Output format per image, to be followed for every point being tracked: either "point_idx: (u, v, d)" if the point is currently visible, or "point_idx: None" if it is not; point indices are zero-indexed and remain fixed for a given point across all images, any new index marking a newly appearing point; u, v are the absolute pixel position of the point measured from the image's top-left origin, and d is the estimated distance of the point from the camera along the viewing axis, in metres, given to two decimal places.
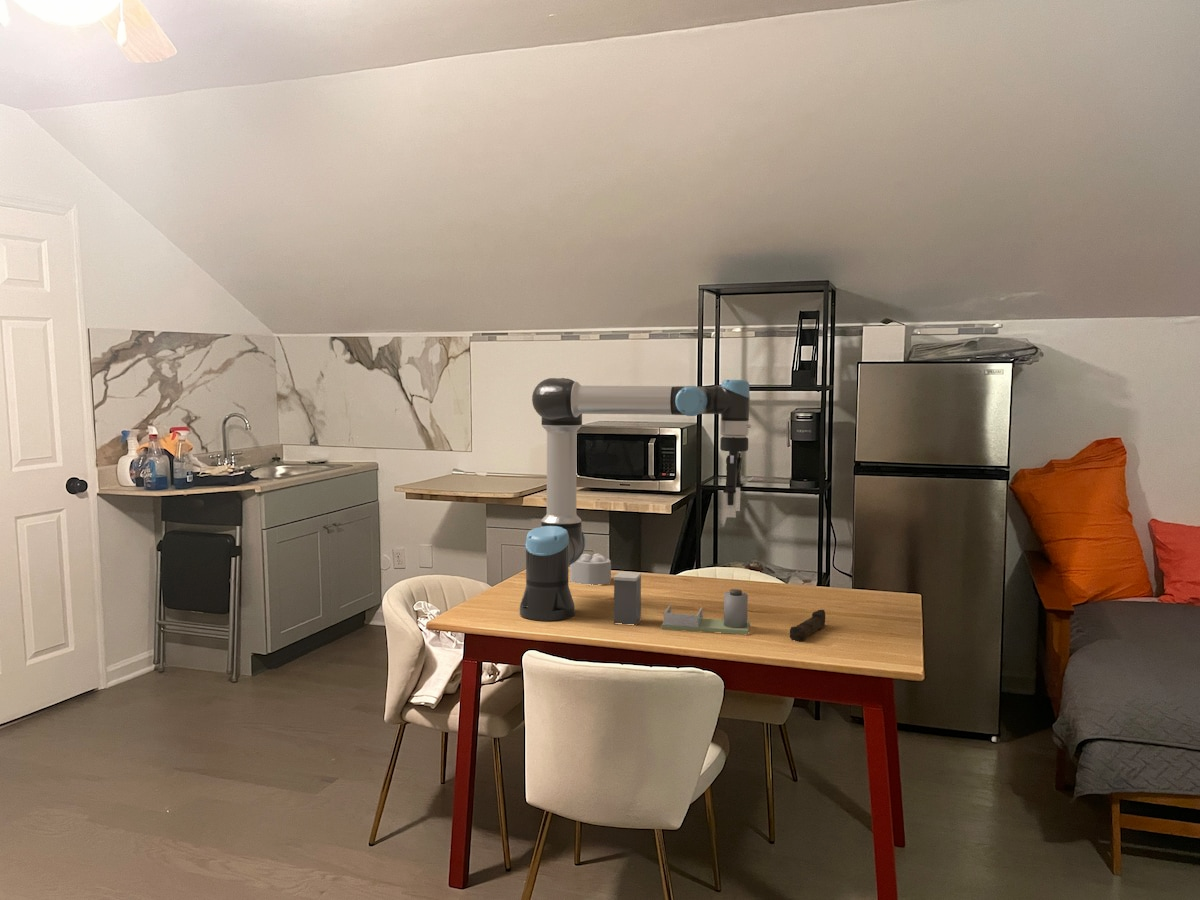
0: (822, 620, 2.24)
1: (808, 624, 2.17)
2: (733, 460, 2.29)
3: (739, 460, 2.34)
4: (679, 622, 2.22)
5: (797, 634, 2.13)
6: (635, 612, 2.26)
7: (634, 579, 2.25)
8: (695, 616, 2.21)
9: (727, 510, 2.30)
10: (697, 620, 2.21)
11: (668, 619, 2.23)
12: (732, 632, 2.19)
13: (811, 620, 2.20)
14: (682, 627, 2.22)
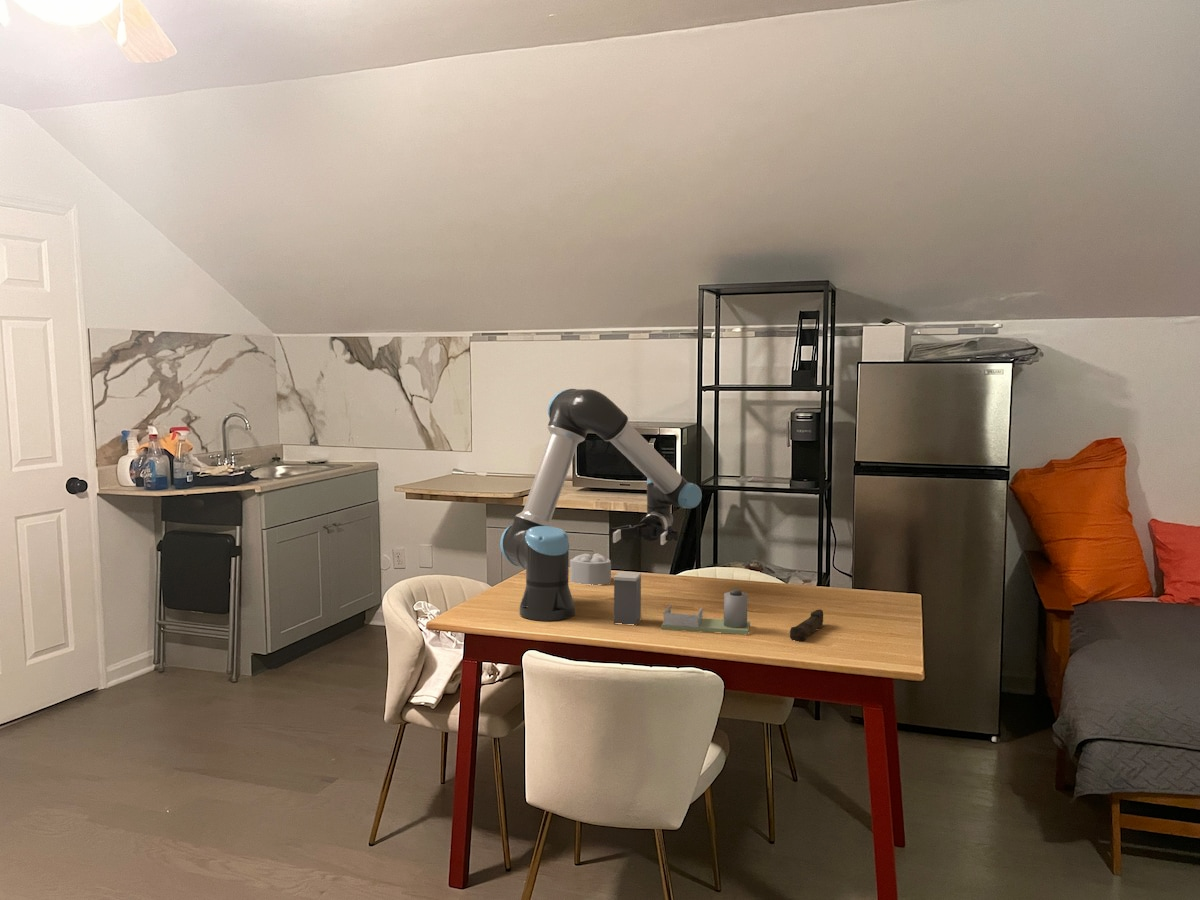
0: (820, 620, 2.24)
1: (808, 624, 2.17)
2: None
3: None
4: (679, 622, 2.22)
5: (797, 634, 2.13)
6: (635, 612, 2.26)
7: (634, 579, 2.25)
8: (695, 616, 2.21)
9: (664, 536, 2.41)
10: (697, 620, 2.21)
11: (668, 619, 2.23)
12: (732, 632, 2.19)
13: (810, 620, 2.20)
14: (682, 627, 2.22)
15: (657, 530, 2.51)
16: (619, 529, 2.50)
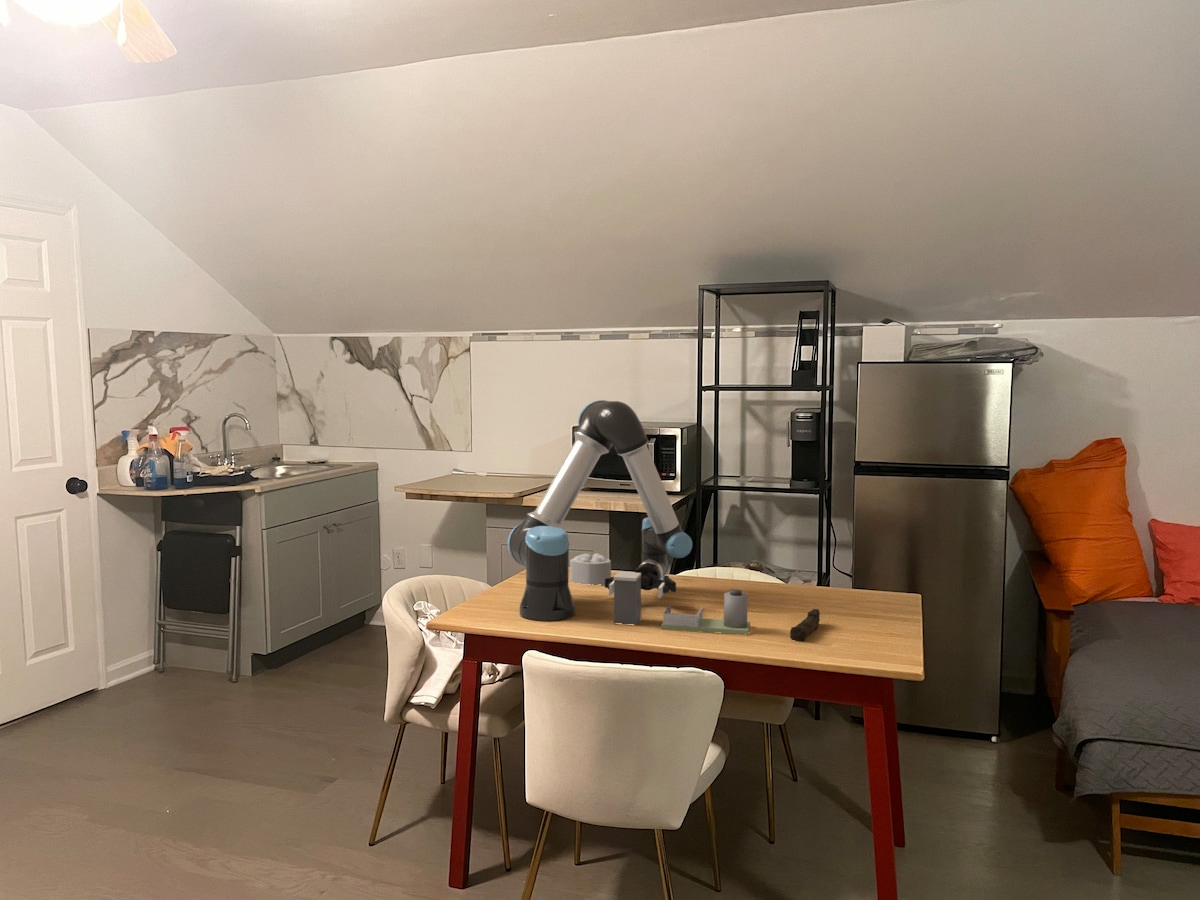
0: (817, 619, 2.25)
1: (807, 624, 2.17)
2: None
3: None
4: (679, 622, 2.22)
5: (798, 635, 2.13)
6: (635, 612, 2.26)
7: (634, 579, 2.25)
8: (695, 616, 2.21)
9: (662, 588, 2.35)
10: (697, 620, 2.21)
11: (668, 619, 2.23)
12: (732, 632, 2.19)
13: (808, 620, 2.20)
14: (682, 627, 2.22)
15: (654, 580, 2.45)
16: None
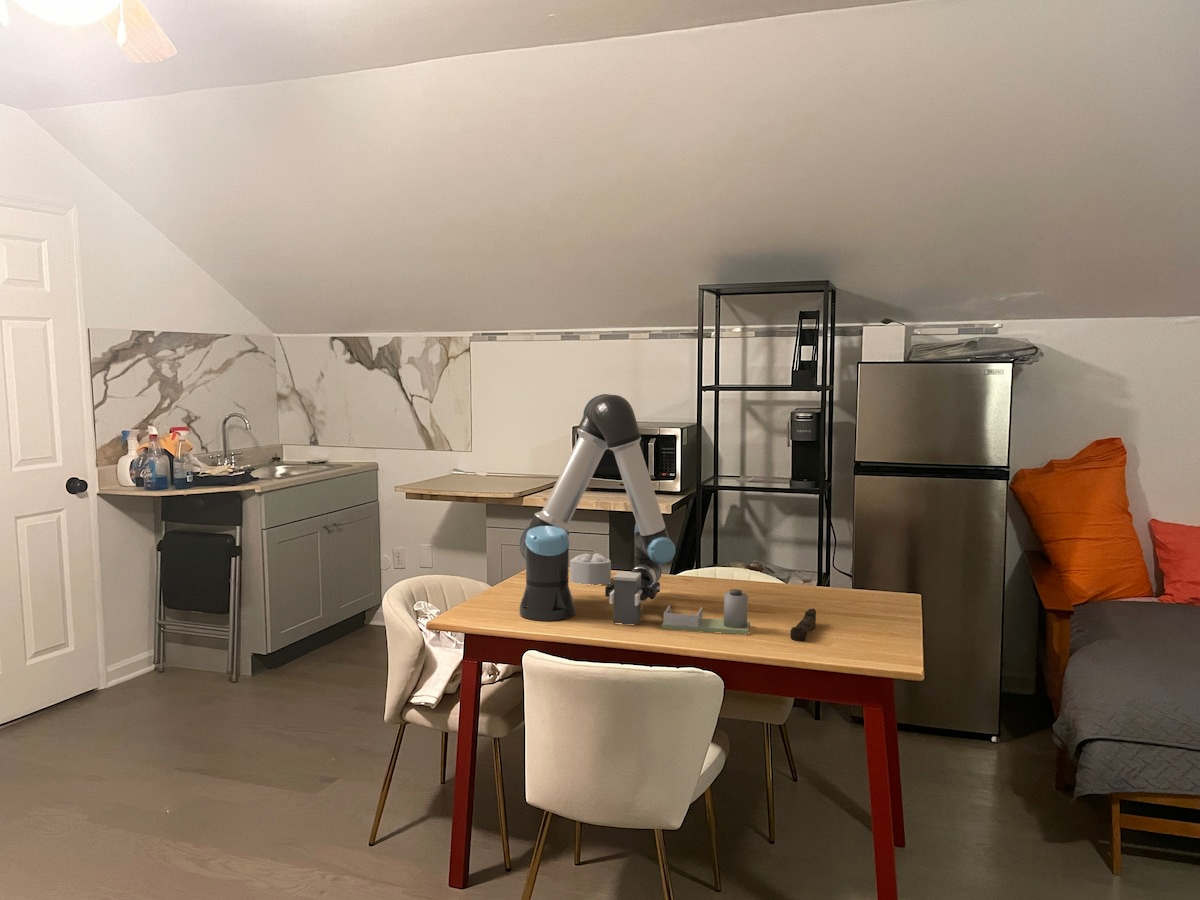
0: (815, 619, 2.25)
1: (806, 624, 2.17)
2: (658, 589, 2.38)
3: None
4: (679, 622, 2.22)
5: (798, 635, 2.13)
6: (635, 612, 2.26)
7: (634, 579, 2.25)
8: (695, 616, 2.21)
9: (639, 595, 2.26)
10: (697, 620, 2.21)
11: (668, 619, 2.23)
12: (732, 632, 2.19)
13: (807, 620, 2.21)
14: (682, 627, 2.22)
15: None
16: None
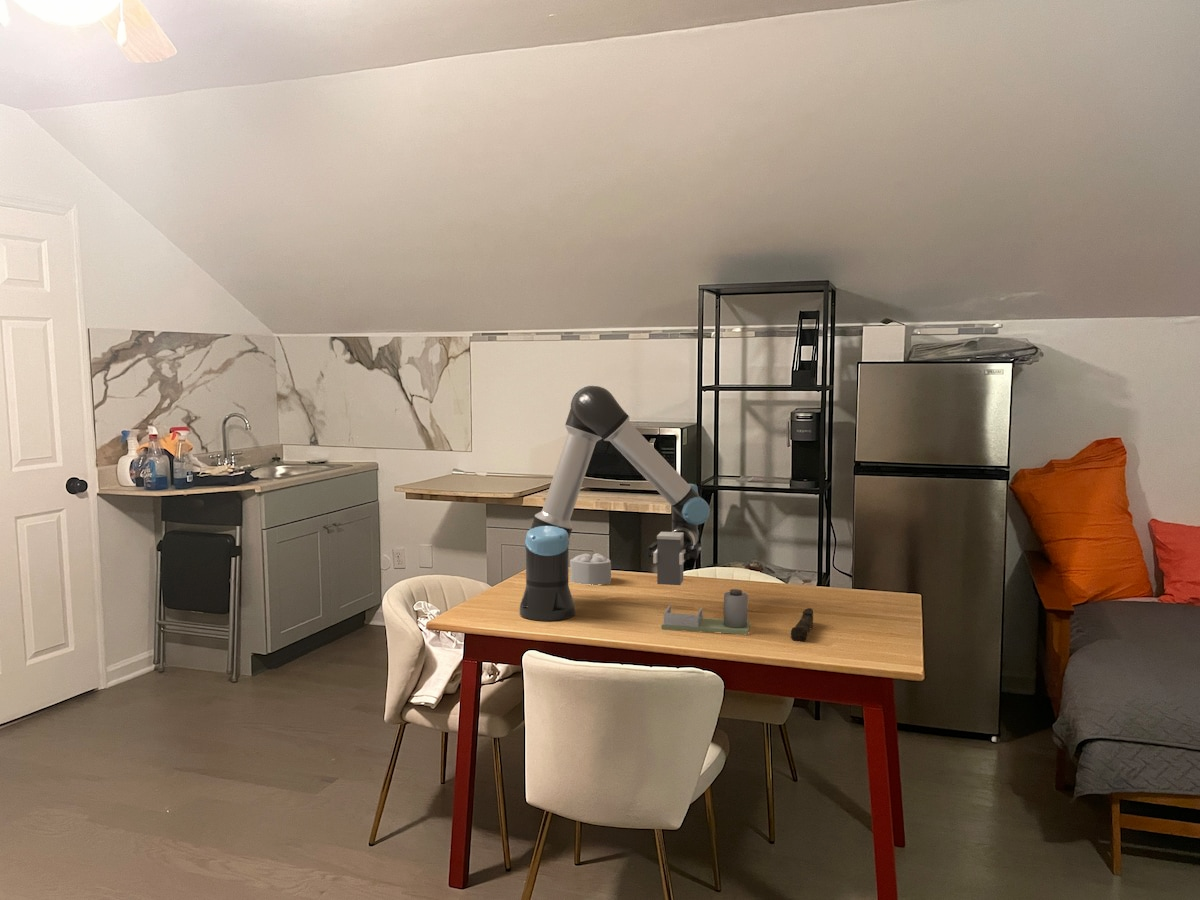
0: (812, 618, 2.25)
1: (806, 624, 2.17)
2: (700, 550, 2.36)
3: None
4: (679, 622, 2.22)
5: (799, 635, 2.13)
6: (679, 571, 2.24)
7: (678, 538, 2.22)
8: (695, 616, 2.21)
9: (683, 554, 2.23)
10: (697, 620, 2.21)
11: (668, 619, 2.23)
12: (732, 632, 2.19)
13: (805, 619, 2.21)
14: (682, 627, 2.22)
15: None
16: None
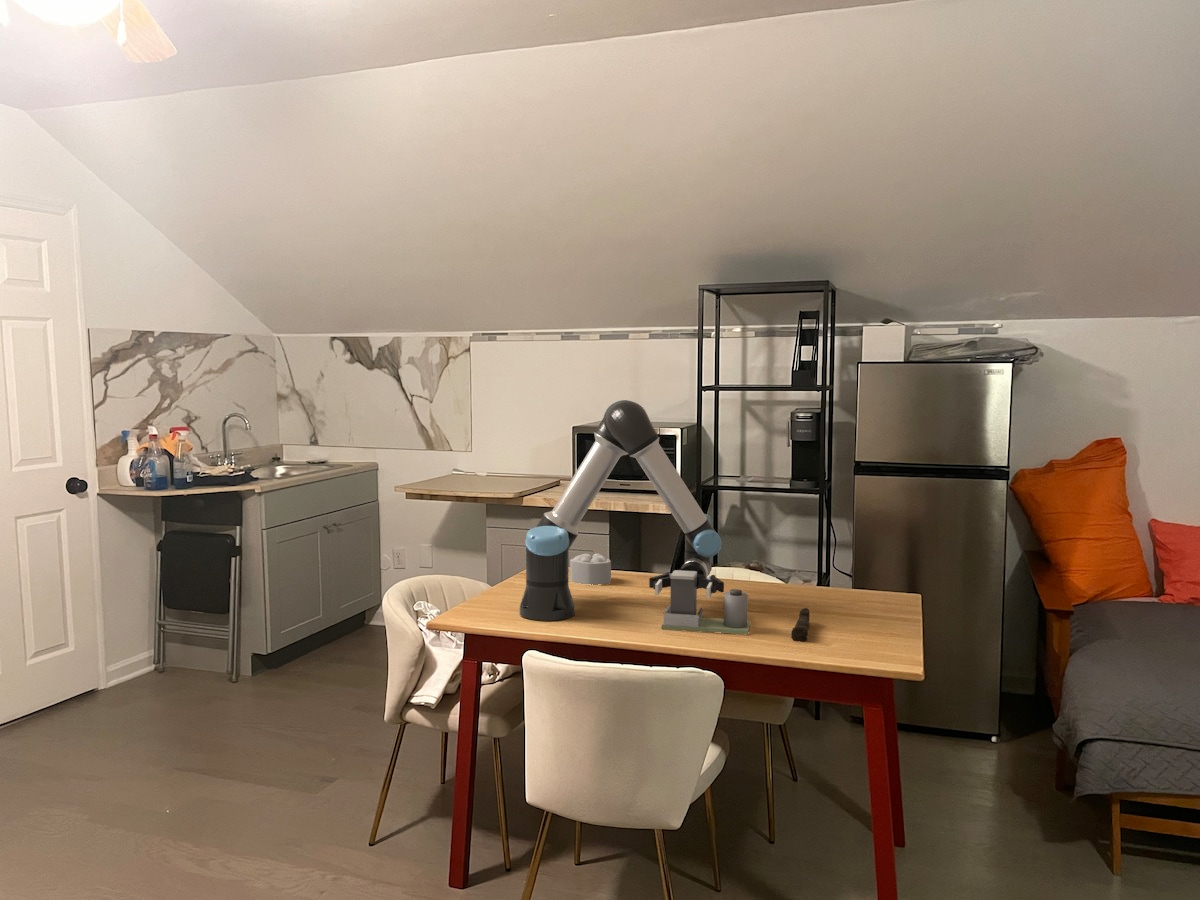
0: (809, 618, 2.26)
1: (805, 624, 2.17)
2: None
3: None
4: (679, 622, 2.22)
5: (800, 635, 2.13)
6: (692, 611, 2.23)
7: (691, 578, 2.21)
8: (695, 616, 2.21)
9: (710, 588, 2.23)
10: (697, 620, 2.21)
11: (668, 619, 2.23)
12: (732, 632, 2.19)
13: (804, 619, 2.21)
14: (682, 627, 2.22)
15: (700, 580, 2.33)
16: (660, 579, 2.31)
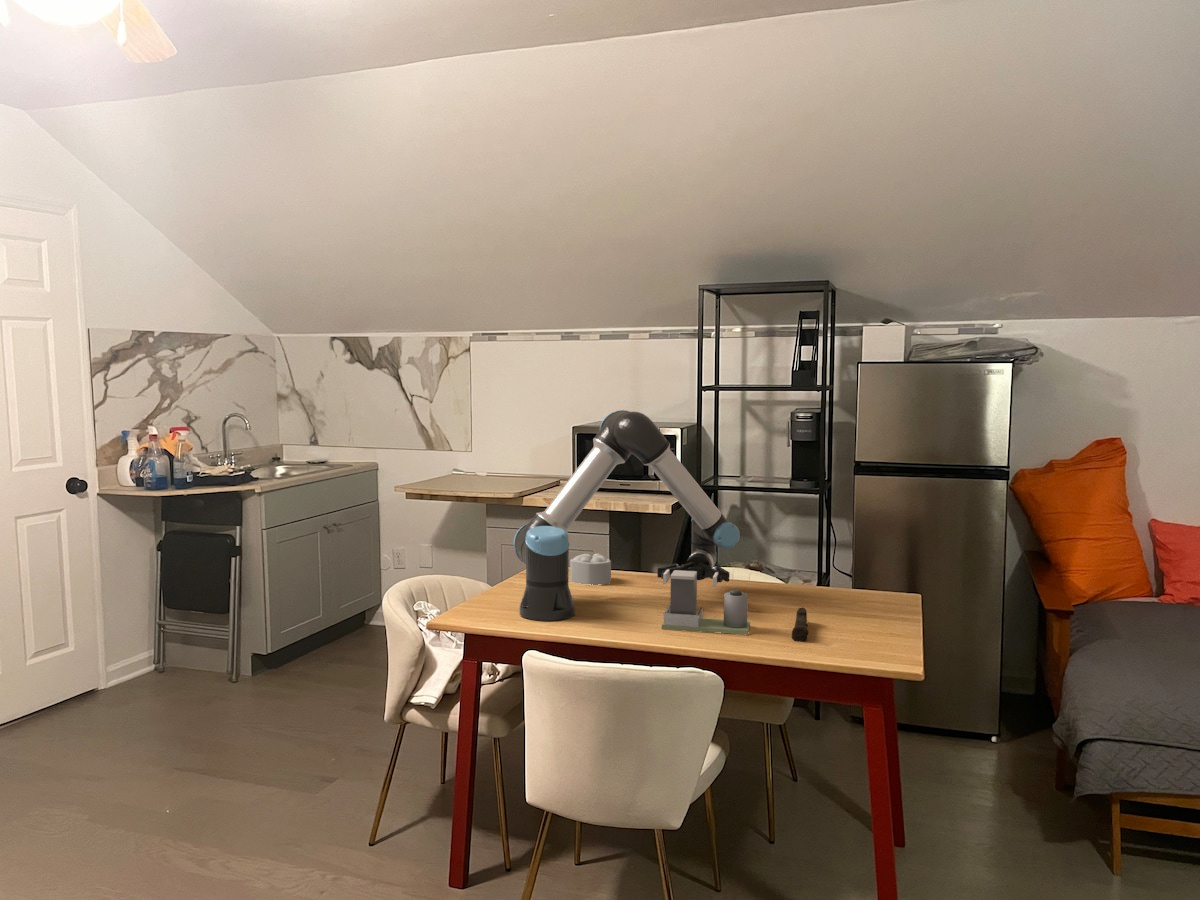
0: None
1: (804, 623, 2.17)
2: None
3: None
4: (679, 622, 2.22)
5: (800, 635, 2.13)
6: (692, 611, 2.23)
7: (691, 578, 2.21)
8: (695, 616, 2.21)
9: (716, 577, 2.35)
10: (697, 620, 2.21)
11: (668, 619, 2.23)
12: (732, 632, 2.19)
13: (802, 619, 2.21)
14: (682, 627, 2.22)
15: (706, 570, 2.45)
16: (668, 569, 2.44)
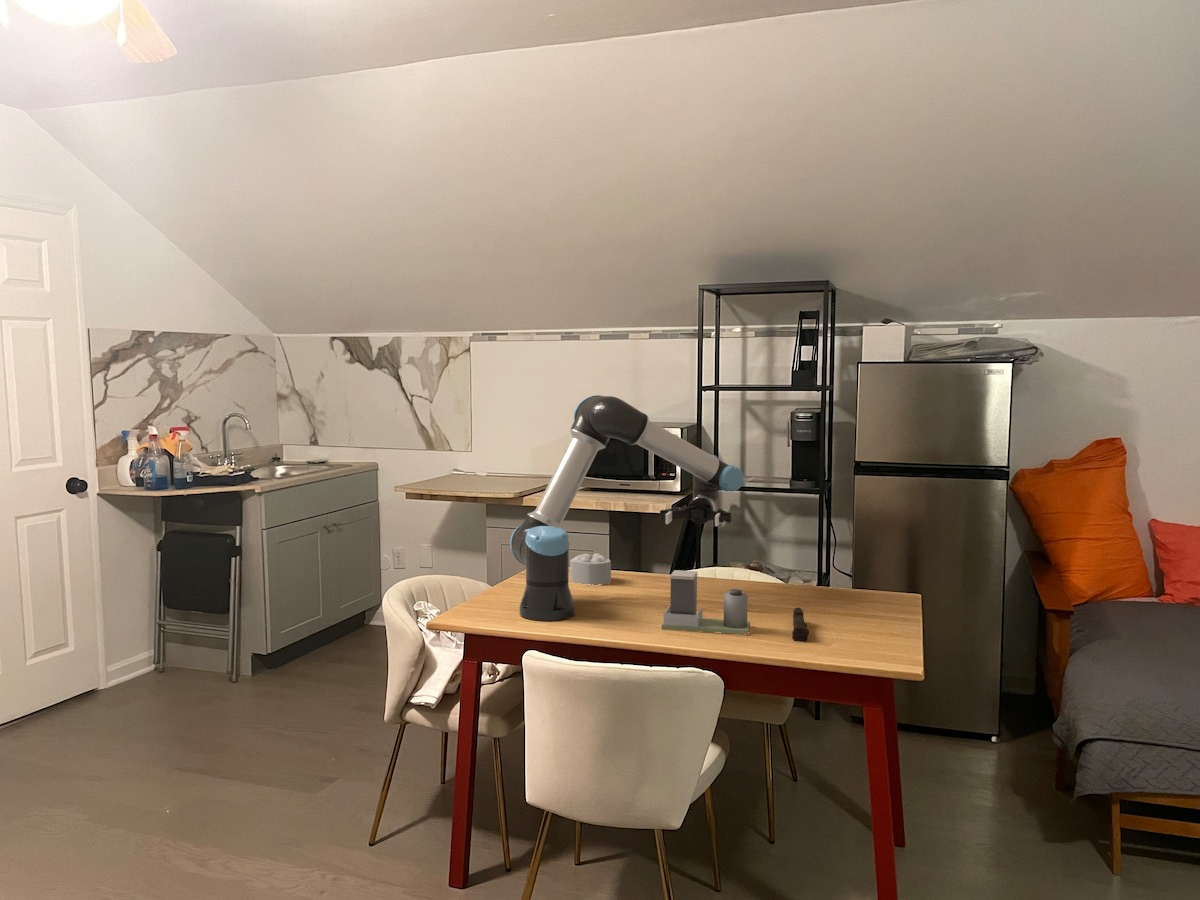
0: None
1: (804, 623, 2.17)
2: None
3: None
4: (679, 622, 2.22)
5: (801, 635, 2.13)
6: (692, 611, 2.23)
7: (691, 578, 2.21)
8: (695, 616, 2.21)
9: (718, 517, 2.37)
10: (697, 620, 2.21)
11: (668, 619, 2.23)
12: (732, 632, 2.19)
13: (800, 619, 2.21)
14: (682, 627, 2.22)
15: (708, 512, 2.48)
16: None
